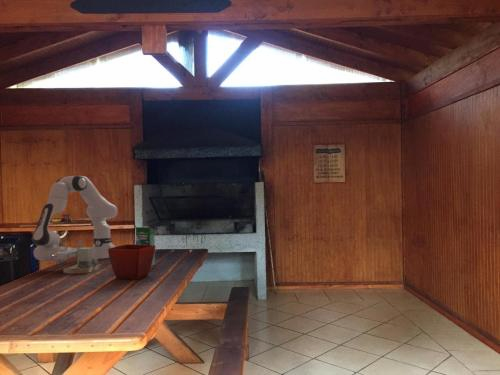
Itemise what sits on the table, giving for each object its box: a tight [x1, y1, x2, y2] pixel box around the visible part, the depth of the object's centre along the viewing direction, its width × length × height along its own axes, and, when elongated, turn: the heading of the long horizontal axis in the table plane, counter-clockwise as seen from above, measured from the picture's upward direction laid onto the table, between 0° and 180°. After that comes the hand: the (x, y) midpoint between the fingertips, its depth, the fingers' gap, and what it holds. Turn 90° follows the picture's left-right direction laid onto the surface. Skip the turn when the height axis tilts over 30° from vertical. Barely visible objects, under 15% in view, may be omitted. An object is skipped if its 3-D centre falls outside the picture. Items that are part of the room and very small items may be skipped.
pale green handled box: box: [76, 240, 93, 267], centre depth 250 cm, size 5×7×15 cm
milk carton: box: [135, 225, 156, 267], centre depth 264 cm, size 9×9×25 cm
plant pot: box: [108, 244, 156, 281], centre depth 229 cm, size 19×19×17 cm
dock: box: [63, 258, 102, 274], centre depth 250 cm, size 16×15×6 cm
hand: (81, 253), depth 250 cm, fingers open, 8 cm apart
